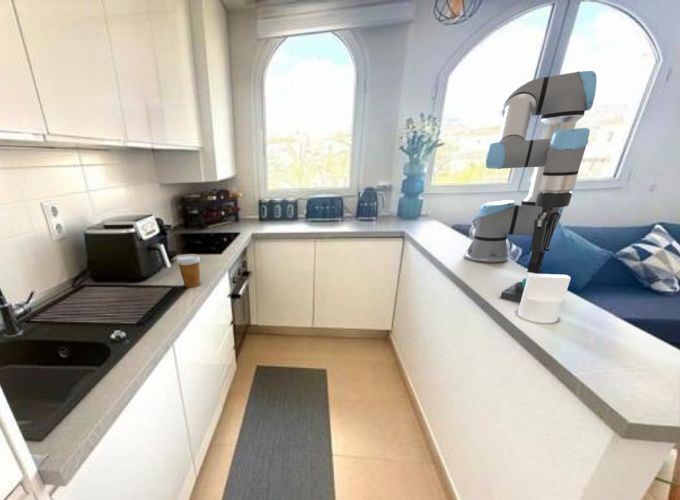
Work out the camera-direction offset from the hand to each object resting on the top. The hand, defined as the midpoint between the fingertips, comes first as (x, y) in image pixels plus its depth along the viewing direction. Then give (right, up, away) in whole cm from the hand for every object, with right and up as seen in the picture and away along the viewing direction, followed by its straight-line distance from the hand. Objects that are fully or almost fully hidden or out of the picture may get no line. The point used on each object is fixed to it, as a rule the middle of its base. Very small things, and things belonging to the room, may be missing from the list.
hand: (533, 272), depth 105 cm
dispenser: (+1, -8, +4) cm, 8 cm away
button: (0, -4, +2) cm, 5 cm away
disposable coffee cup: (-113, -1, +39) cm, 119 cm away
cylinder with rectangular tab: (-6, -14, -8) cm, 17 cm away
